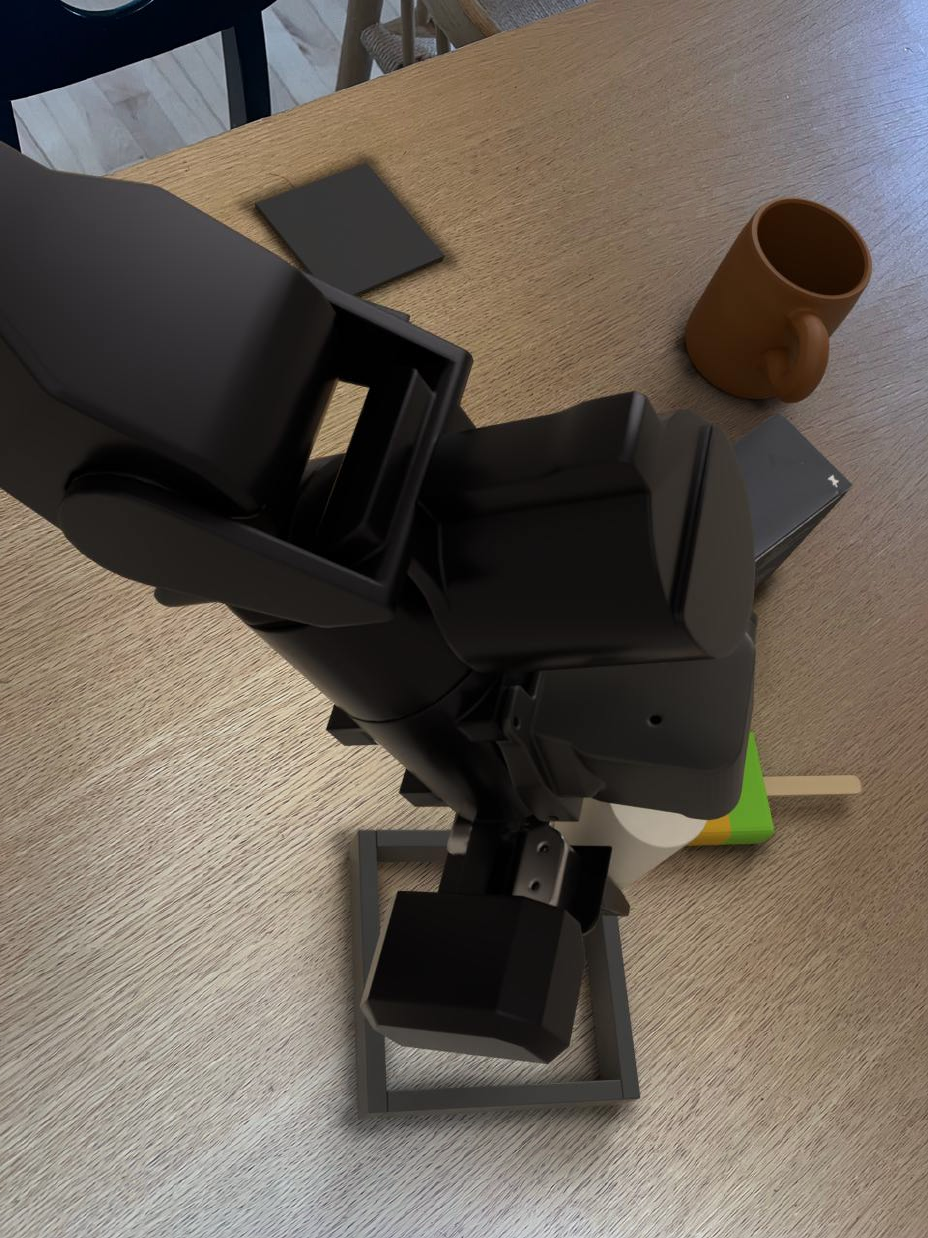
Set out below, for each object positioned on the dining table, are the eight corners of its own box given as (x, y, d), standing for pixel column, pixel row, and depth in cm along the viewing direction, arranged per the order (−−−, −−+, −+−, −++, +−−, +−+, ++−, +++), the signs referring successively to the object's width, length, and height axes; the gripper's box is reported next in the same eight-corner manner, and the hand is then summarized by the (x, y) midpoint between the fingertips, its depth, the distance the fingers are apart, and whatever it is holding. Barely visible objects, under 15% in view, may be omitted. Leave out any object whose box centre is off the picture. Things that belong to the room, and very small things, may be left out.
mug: (806, 475, 74) (892, 378, 66) (685, 452, 72) (758, 350, 64) (790, 318, 80) (868, 210, 71) (677, 293, 78) (744, 180, 70)
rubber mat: (334, 305, 71) (334, 301, 71) (254, 206, 73) (255, 202, 72) (443, 258, 74) (444, 255, 74) (365, 165, 76) (366, 161, 76)
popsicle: (569, 743, 62) (582, 728, 61) (837, 740, 66) (856, 727, 65) (585, 852, 60) (599, 840, 58) (862, 843, 64) (883, 832, 62)
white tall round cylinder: (561, 991, 50) (694, 913, 39) (477, 964, 50) (587, 878, 39) (593, 830, 54) (724, 717, 43) (515, 804, 54) (626, 682, 42)
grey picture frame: (357, 1119, 52) (368, 1113, 50) (348, 845, 57) (357, 829, 55) (620, 1105, 55) (641, 1098, 53) (589, 845, 60) (607, 830, 58)
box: (703, 505, 71) (781, 405, 63) (771, 577, 70) (859, 486, 62) (590, 585, 67) (658, 490, 58) (661, 664, 66) (740, 578, 57)
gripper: (605, 975, 27) (819, 1159, 38) (722, 340, 36) (867, 632, 47) (219, 945, 33) (499, 1111, 43) (405, 406, 42) (597, 652, 53)
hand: (626, 861), depth 46 cm, fingers closed on white tall round cylinder, 3 cm apart
